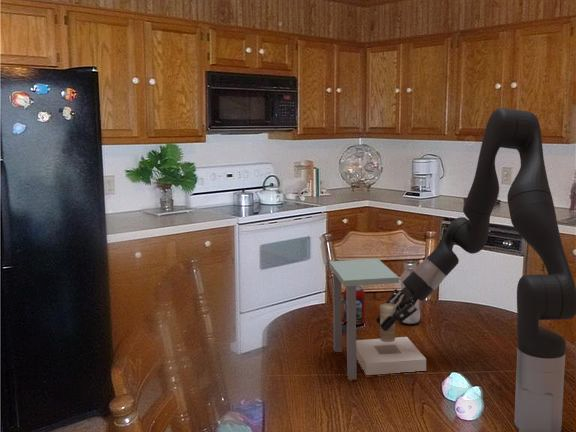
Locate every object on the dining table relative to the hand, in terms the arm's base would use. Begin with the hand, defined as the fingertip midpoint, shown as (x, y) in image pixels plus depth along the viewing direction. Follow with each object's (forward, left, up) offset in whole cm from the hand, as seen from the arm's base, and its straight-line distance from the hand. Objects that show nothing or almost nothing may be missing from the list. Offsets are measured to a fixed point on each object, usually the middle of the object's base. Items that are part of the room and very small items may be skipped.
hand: (380, 325), depth 157 cm
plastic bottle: (+33, +2, -11) cm, 35 cm away
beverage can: (+25, +18, -11) cm, 33 cm away
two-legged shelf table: (-3, +4, -10) cm, 12 cm away
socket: (+1, -2, -10) cm, 11 cm away
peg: (+1, -2, -4) cm, 4 cm away
